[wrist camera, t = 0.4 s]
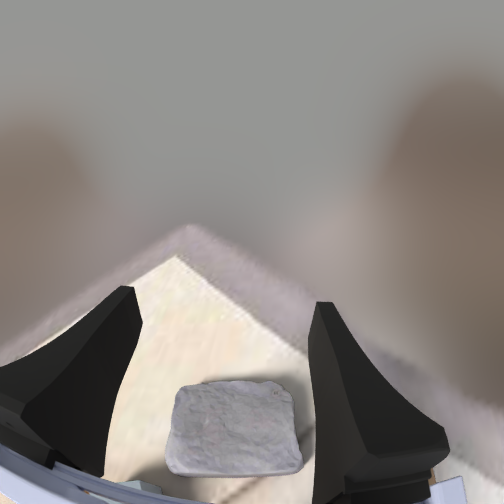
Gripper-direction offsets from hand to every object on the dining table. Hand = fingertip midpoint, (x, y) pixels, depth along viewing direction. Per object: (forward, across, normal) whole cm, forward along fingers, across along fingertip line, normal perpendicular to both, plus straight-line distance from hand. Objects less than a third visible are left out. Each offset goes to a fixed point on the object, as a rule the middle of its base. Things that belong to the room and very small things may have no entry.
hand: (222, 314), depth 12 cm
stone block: (+4, 0, +20) cm, 20 cm away
